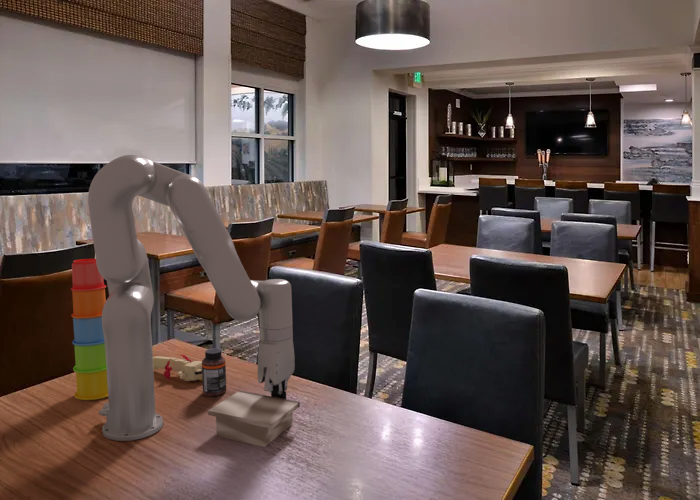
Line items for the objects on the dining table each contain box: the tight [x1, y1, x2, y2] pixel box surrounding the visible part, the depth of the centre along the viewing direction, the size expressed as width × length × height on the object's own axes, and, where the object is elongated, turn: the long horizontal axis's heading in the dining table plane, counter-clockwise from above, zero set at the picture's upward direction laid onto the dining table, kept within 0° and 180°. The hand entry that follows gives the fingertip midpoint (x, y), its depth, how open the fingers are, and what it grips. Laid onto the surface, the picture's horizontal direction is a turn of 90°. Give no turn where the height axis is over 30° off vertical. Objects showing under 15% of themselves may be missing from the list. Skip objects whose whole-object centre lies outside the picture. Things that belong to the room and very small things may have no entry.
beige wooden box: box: [207, 390, 301, 448], centre depth 124 cm, size 12×16×6 cm
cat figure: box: [153, 354, 202, 382], centre depth 157 cm, size 10×9×25 cm
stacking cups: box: [70, 258, 108, 401], centre depth 141 cm, size 10×10×35 cm
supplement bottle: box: [201, 347, 227, 397], centre depth 144 cm, size 6×6×11 cm
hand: (279, 407), depth 133 cm, fingers closed
